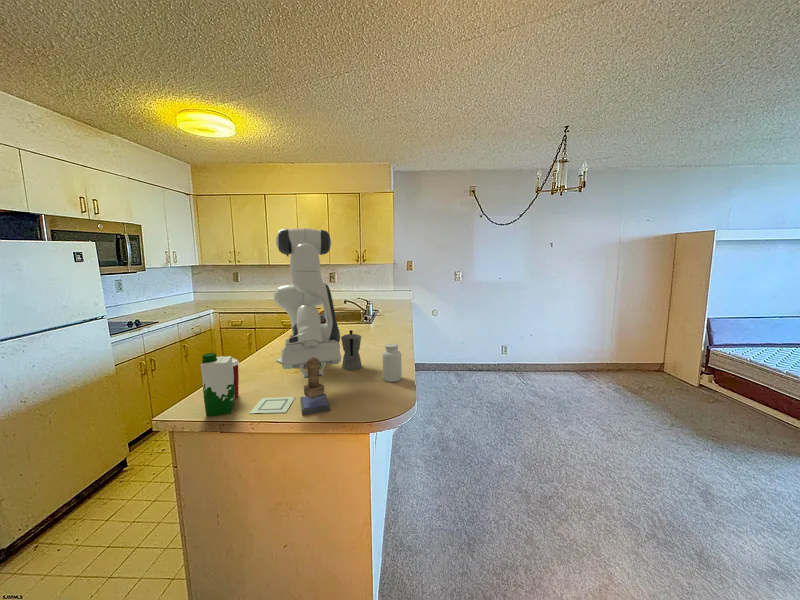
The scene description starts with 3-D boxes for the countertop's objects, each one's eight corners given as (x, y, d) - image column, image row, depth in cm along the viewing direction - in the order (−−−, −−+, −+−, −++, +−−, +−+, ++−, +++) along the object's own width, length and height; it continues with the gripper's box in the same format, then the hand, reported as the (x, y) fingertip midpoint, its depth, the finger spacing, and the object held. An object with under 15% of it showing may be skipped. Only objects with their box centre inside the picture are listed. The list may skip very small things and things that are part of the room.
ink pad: (300, 401, 119) (300, 396, 119) (325, 398, 122) (325, 392, 122) (302, 415, 109) (301, 409, 108) (329, 411, 112) (329, 405, 111)
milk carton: (209, 407, 115) (204, 351, 113) (237, 403, 118) (234, 349, 115) (202, 418, 107) (197, 359, 104) (232, 414, 109) (228, 356, 107)
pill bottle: (379, 379, 141) (378, 345, 139) (392, 374, 147) (391, 341, 145) (392, 384, 135) (392, 348, 133) (405, 378, 141) (405, 344, 139)
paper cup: (237, 391, 129) (234, 356, 127) (244, 397, 123) (242, 361, 121) (215, 397, 123) (212, 361, 122) (221, 403, 118) (218, 365, 116)
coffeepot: (342, 363, 162) (341, 327, 160) (361, 362, 163) (360, 326, 161) (341, 374, 147) (340, 335, 145) (362, 373, 148) (361, 334, 146)
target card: (262, 398, 122) (262, 397, 122) (295, 397, 122) (295, 396, 122) (249, 413, 110) (249, 412, 110) (285, 412, 111) (285, 411, 111)
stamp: (304, 395, 114) (302, 357, 113) (317, 391, 118) (315, 354, 116) (311, 399, 111) (309, 360, 109) (324, 395, 114) (323, 357, 112)
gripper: (338, 344, 127) (343, 376, 119) (281, 349, 120) (282, 384, 112) (339, 335, 122) (344, 368, 114) (281, 339, 115) (282, 375, 107)
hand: (313, 376), depth 113 cm, fingers closed on stamp, 4 cm apart
